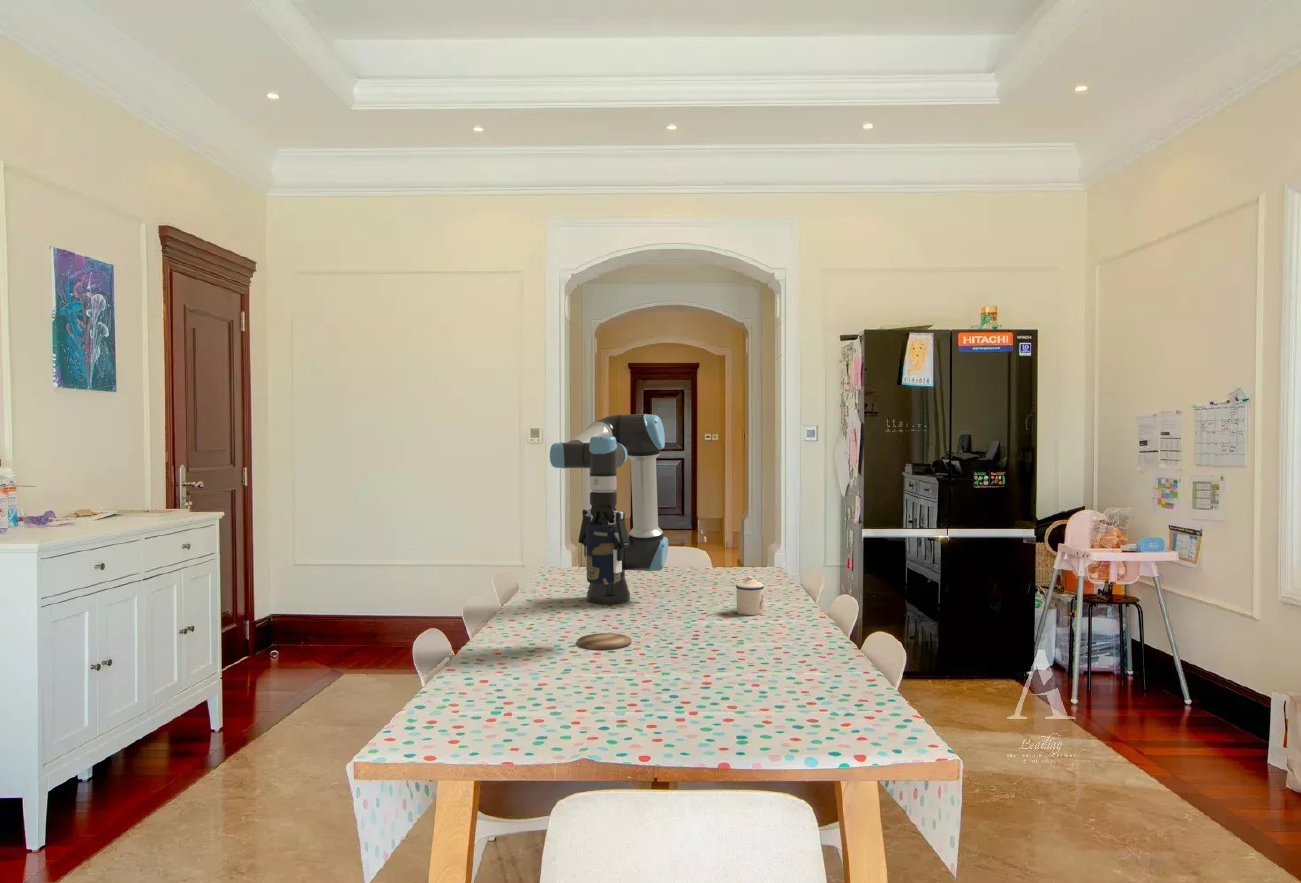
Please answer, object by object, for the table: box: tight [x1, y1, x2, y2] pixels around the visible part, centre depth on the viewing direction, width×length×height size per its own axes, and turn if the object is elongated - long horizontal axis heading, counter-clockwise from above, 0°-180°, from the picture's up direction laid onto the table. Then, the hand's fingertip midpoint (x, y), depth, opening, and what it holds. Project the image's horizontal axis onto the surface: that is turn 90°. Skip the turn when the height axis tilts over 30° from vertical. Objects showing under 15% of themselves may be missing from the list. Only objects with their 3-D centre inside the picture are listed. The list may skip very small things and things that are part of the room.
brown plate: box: [577, 632, 632, 651], centre depth 235 cm, size 15×15×1 cm
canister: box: [586, 521, 620, 585], centre depth 235 cm, size 10×10×18 cm
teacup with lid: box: [735, 575, 765, 616], centre depth 272 cm, size 12×9×12 cm
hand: (603, 570), depth 235 cm, fingers closed on canister, 9 cm apart
